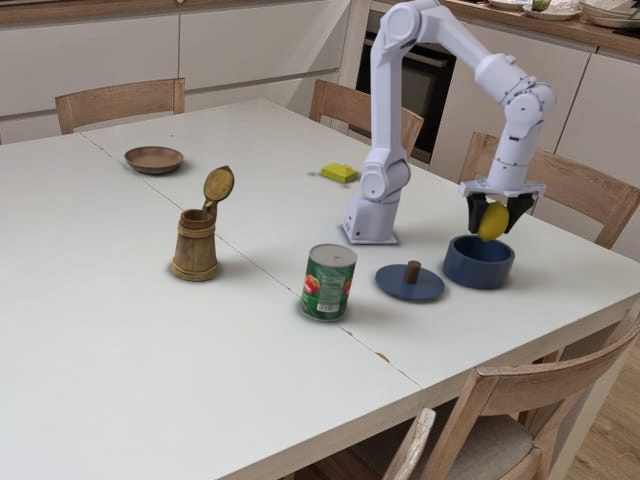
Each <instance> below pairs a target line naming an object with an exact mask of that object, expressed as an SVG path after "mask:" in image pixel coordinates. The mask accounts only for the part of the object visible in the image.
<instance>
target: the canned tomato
mask: <svg viewBox="0 0 640 480" xmlns="http://www.w3.org/2000/svg"><path fill="white" fill-rule="evenodd" d="M357 261H358V255H357V253H356V252H355V251H354V250H353V249H352V248H350V247H347V246H345V245H342V244H337V243H319V244H316V245H314V246H312V247H310V249H309V251H308V258H307V264H306V268H305V269H306V270H305V275H304V282H303V286H302V287H303V288H302V293H301V300H300V303H299V309H300V312H301V314H303V315H304V316H305V317H307V318H309V319H311V320H313V321H317V322H323V323H331V322H332V323H333V322H337V321H340V320H341V319H342V318H344V316H345V314H346V309H347V305H348V302H349V296H350V292H351V288H352V284H353V283H352V282H353V278H354V274H355V270H356V265H357Z"/></svg>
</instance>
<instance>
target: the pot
mask: <svg viewBox="0 0 640 480" xmlns="http://www.w3.org/2000/svg"><path fill="white" fill-rule="evenodd" d="M444 256H445V257H444V259H443V263H442V268H441V270H442V273H443V275H444V276H445V277H446V278H447V279H448V280H449V281H451V282H453V283H455V284H456V285H459V286H461V287H464V288H468V289H472V290H473V289H474V290H478V291H479V290H481V291H489V290H497V289H499V288H502V286H504V285H505V283H506V282H507V279H508V278H509V277H508V276H509V275H510V273H511V270H512V266H513V264H514V262H515V261H514V260H515V259H516V252H515V250H514V249H513V248H512V247H511V246H510V245H509V244H507V243H505V242H503V241H501V240H499V239H497V238H496V239H494V240H489V241H487V242H484V241H483V240H482V239H481V238H480V237H478V236H477V234H462V235H458V236H454V237H453V238H452V239H451V240H450V241H449V242H448V247H447V250H446V253H445V255H444Z"/></svg>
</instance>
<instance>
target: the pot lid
mask: <svg viewBox="0 0 640 480" xmlns="http://www.w3.org/2000/svg"><path fill="white" fill-rule="evenodd" d="M374 281H375V283H376V285H377V286H378V287H379V288H380V289H381V290H383V291H384V292H386V293H387V294H388V295H391V296H393V297H396V298H399V299H404V300H407V301H414V302H424V301H425V302H426V301H431V300H435V299H437V298H439V297H441V296H442V295H443V294H444V292H445V289H446V285H445V282H444V280H443V279H442V278H441V277H440V276H439V275H438V274H436V273H435V272H433V271H431V270H429V269H426V268H424V267H422V263H421V262H420V261H419V260H418V261H417V260H413V259H412V260H408V261H407V264H406V263H395V264H388V265H385V266H382V267H381V268H379V269H378V270H377V271H376V272H375V275H374Z"/></svg>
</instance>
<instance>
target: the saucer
mask: <svg viewBox="0 0 640 480" xmlns="http://www.w3.org/2000/svg"><path fill="white" fill-rule="evenodd" d="M123 157H124V160H125V161H126V163H127V164H128V165H129V166H130V167H131V168H132V169H134V170H136V171H137V172H140V173H145V174H152V175H153V174H154V175H155V174H165V173H169V172H170V171H173V170H174V169H176V168H177V167H178V166H180V164H181V162H182V161H183V160H184V155H183V153H181V152H180V151H178V150H176V149H174V148H171V147H166V146H159V145H145V146H138V147H134V148H131V149H129V150H127V151H125V153H124V155H123Z"/></svg>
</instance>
